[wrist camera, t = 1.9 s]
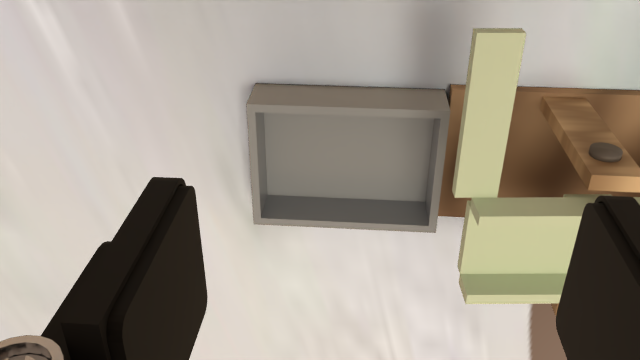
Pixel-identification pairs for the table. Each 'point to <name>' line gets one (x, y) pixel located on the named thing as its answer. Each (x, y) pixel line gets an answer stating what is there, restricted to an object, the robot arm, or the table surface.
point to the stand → (558, 145)
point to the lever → (506, 213)
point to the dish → (347, 156)
